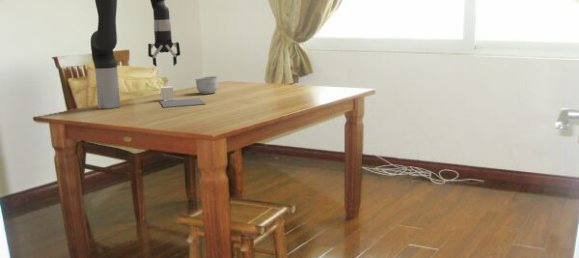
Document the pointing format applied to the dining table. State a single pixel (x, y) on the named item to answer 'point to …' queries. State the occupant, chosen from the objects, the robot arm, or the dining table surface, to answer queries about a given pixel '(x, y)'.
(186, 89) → the dining table surface
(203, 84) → the teacup
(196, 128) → the dining table surface
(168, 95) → the cream block
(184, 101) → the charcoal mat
